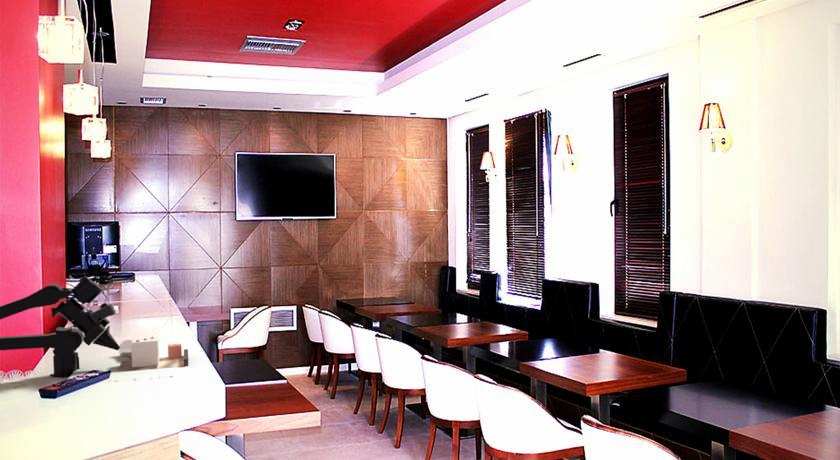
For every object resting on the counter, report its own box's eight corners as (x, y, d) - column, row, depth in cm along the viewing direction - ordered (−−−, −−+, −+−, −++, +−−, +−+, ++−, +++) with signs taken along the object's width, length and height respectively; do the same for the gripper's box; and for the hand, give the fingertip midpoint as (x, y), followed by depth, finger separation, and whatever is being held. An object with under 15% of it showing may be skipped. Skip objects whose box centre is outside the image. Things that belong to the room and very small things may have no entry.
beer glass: (141, 351, 241) (163, 351, 231) (124, 363, 236) (145, 364, 226) (130, 334, 239) (152, 333, 229) (113, 346, 234) (134, 347, 224)
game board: (117, 376, 209) (116, 365, 209) (122, 364, 227) (121, 354, 226) (188, 369, 216) (188, 359, 216) (188, 358, 233) (187, 349, 233)
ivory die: (132, 367, 216) (131, 341, 215) (133, 362, 223) (132, 337, 223) (158, 365, 218) (157, 339, 218) (159, 360, 225) (158, 335, 225)
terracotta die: (168, 359, 227) (168, 346, 227) (168, 356, 231) (168, 343, 231) (181, 358, 228) (181, 344, 228) (181, 355, 232) (181, 342, 232)
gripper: (94, 298, 207) (136, 333, 211) (101, 292, 225) (140, 324, 228) (65, 327, 205) (108, 362, 208) (74, 319, 222) (114, 351, 226)
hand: (118, 348), depth 218 cm, fingers closed
